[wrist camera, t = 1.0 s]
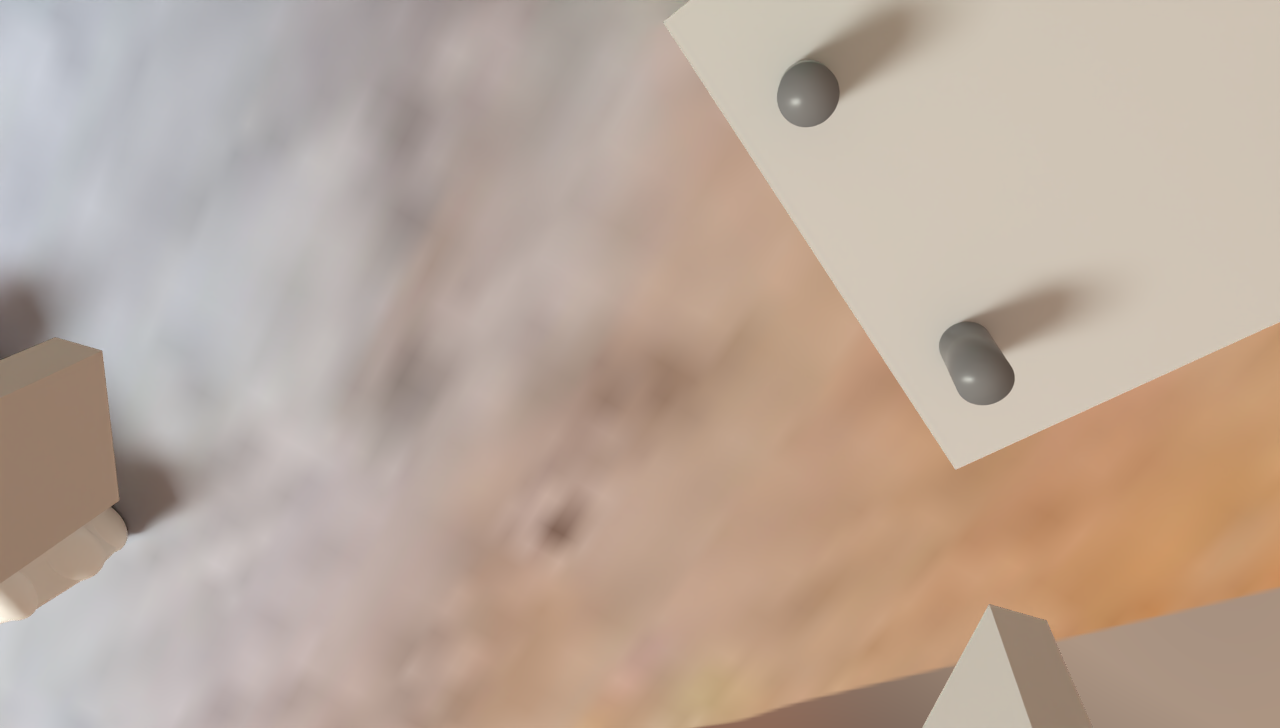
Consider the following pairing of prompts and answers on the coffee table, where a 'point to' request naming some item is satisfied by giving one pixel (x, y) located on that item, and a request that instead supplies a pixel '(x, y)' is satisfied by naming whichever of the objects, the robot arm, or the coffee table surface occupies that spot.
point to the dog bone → (62, 566)
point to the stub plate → (1016, 184)
